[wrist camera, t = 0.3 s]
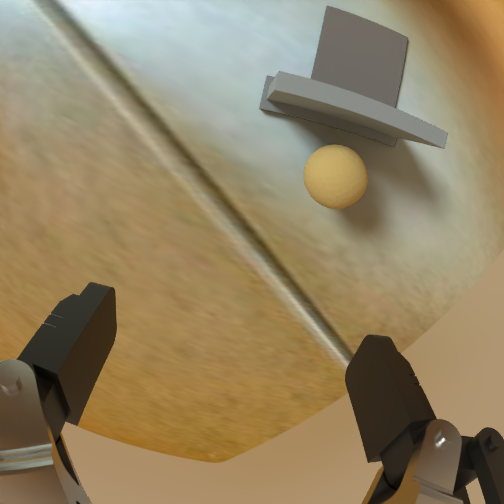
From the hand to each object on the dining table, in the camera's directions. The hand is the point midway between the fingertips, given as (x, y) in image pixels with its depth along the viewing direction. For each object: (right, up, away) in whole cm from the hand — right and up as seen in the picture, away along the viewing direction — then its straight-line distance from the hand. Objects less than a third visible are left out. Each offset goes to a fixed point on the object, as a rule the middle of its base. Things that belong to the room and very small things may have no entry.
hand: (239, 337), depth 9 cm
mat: (+14, +26, +20) cm, 35 cm away
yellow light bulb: (+9, +13, +26) cm, 30 cm away
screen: (+10, +19, +23) cm, 31 cm away
